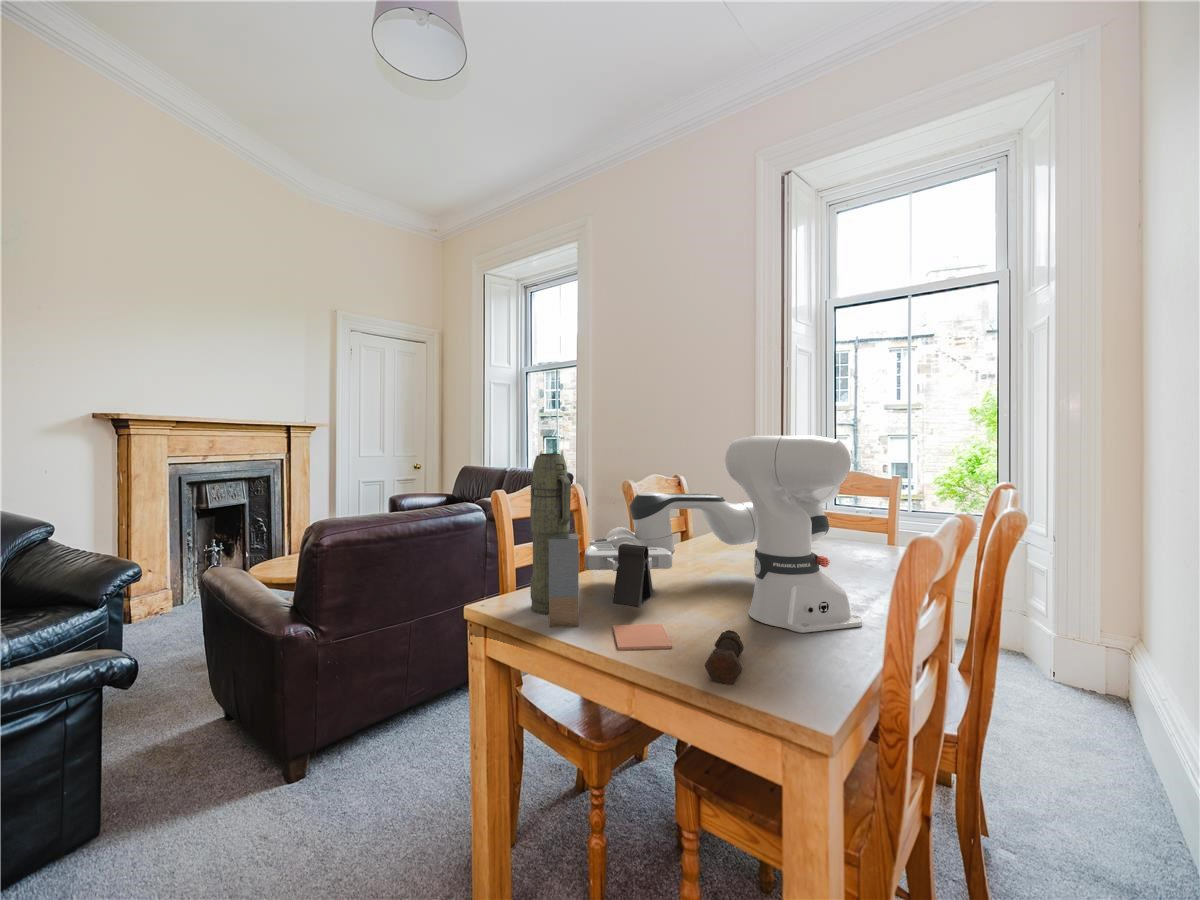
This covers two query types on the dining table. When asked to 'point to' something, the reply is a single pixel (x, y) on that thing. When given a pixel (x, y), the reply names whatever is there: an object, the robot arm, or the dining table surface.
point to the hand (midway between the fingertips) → (631, 567)
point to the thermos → (547, 520)
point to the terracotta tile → (641, 637)
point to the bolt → (725, 659)
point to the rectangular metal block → (563, 580)
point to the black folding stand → (632, 576)
